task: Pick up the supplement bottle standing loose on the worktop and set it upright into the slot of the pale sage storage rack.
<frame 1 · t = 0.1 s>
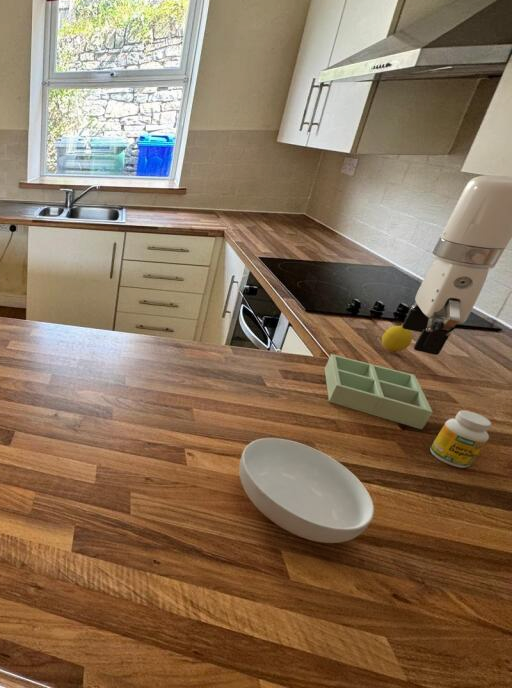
hand: (418, 340, 75), 20 cm above the worktop, tool pointing down, fingers open, 9 cm apart
lemon: (389, 352, 109), on the worktop
supplement bottle: (447, 458, 75), on the worktop
cereal bowl: (288, 509, 65), on the worktop
rack: (368, 396, 91), on the worktop
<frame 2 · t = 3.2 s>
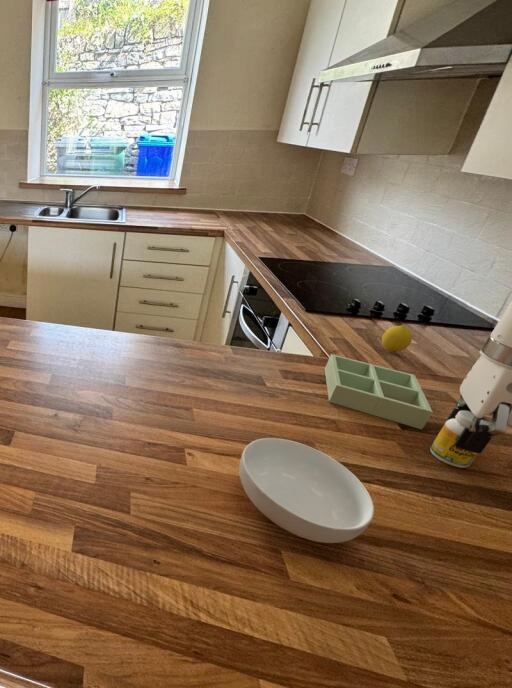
hand: (461, 437, 73), 5 cm above the worktop, tool pointing down, fingers closed on supplement bottle, 5 cm apart
supplement bottle: (447, 458, 75), on the worktop, touching gripper
everything else where it was.
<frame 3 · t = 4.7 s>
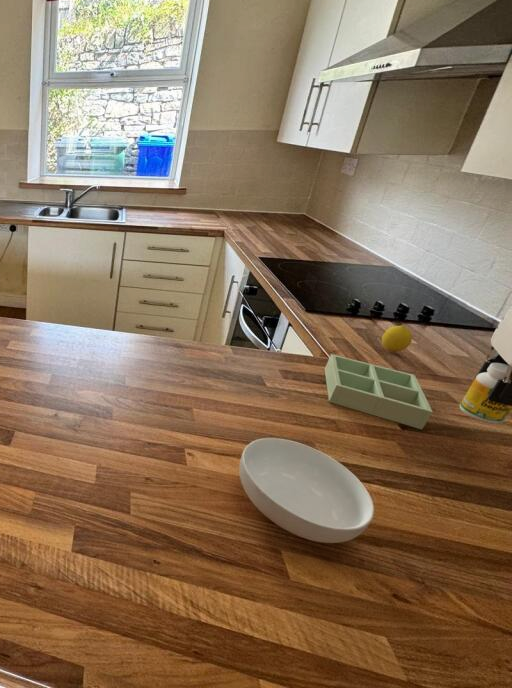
hand: (494, 392, 69), 15 cm above the worktop, tool pointing down, fingers closed on supplement bottle, 5 cm apart
supplement bottle: (479, 415, 71), point 10 cm above the worktop, touching gripper
everything else where it was.
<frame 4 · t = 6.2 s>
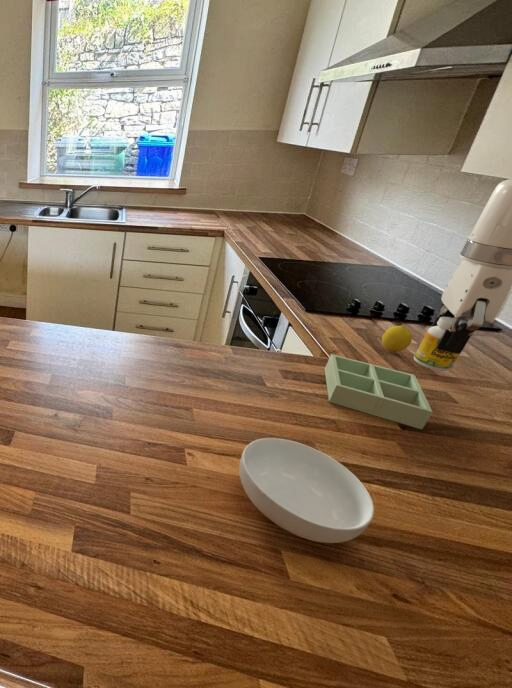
hand: (443, 343, 77), 18 cm above the worktop, tool pointing down, fingers closed on supplement bottle, 5 cm apart
supplement bottle: (430, 365, 79), point 13 cm above the worktop, touching gripper
everything else where it was.
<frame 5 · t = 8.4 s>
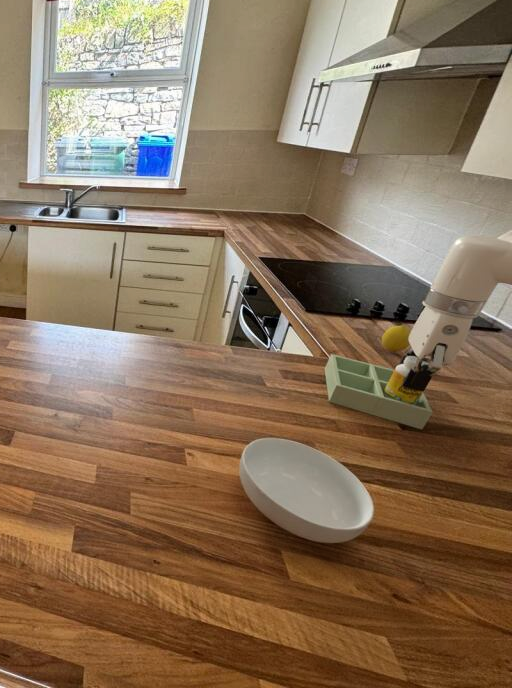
hand: (409, 380, 83), 8 cm above the worktop, tool pointing down, fingers closed on supplement bottle, 5 cm apart
supplement bottle: (398, 399, 85), point 3 cm above the worktop, touching gripper
everything else where it was.
when the fingers open (6 cm above the worktop, at t = 9.6 s): supplement bottle stays where it is, resting on rack.
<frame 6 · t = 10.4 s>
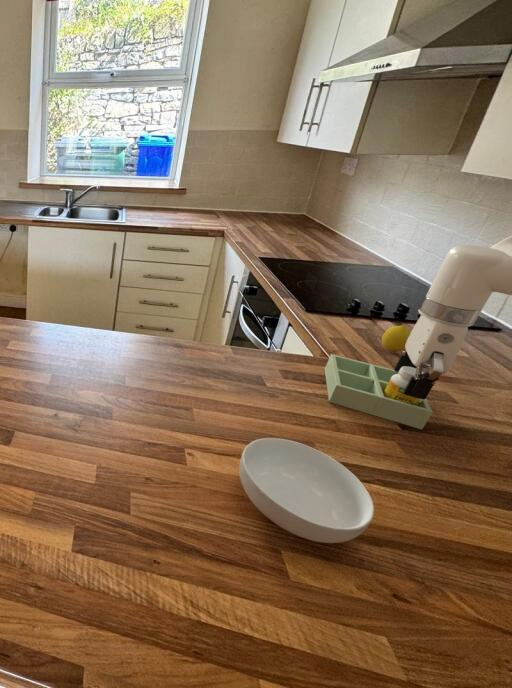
hand: (408, 384, 84), 7 cm above the worktop, tool pointing down, fingers open, 9 cm apart
supplement bottle: (393, 409, 87), point 1 cm above the worktop, touching rack
everything else where it was.
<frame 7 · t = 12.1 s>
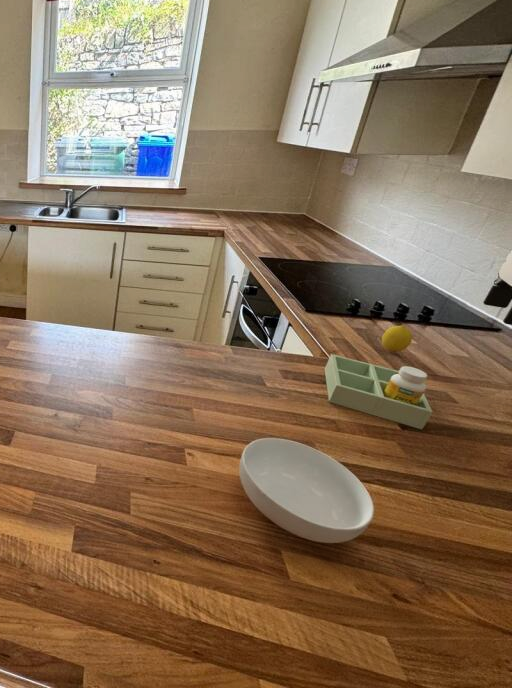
hand: (504, 315, 76), 24 cm above the worktop, tool pointing down, fingers open, 9 cm apart
nothing on the worktop moved.
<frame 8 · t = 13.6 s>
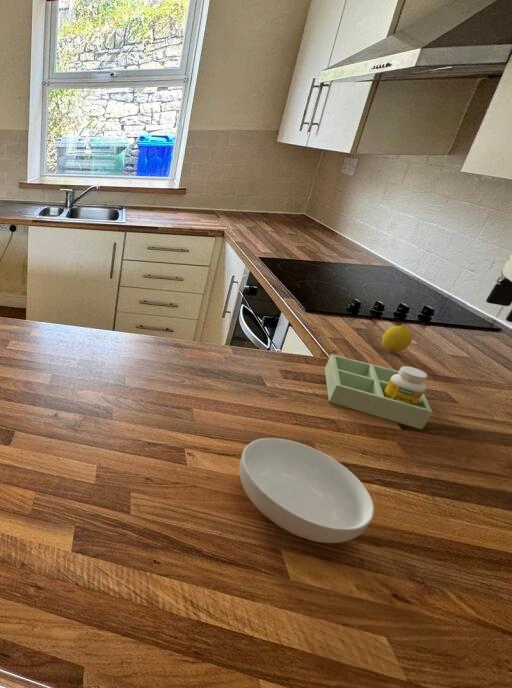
hand: (507, 313, 76), 24 cm above the worktop, tool pointing down, fingers open, 9 cm apart
nothing on the worktop moved.
at the end: supplement bottle 0.1 cm from the target spot in the rack, point 0.6 cm above the rack's base; supplement bottle tilted 0°; the gripper is holding nothing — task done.
